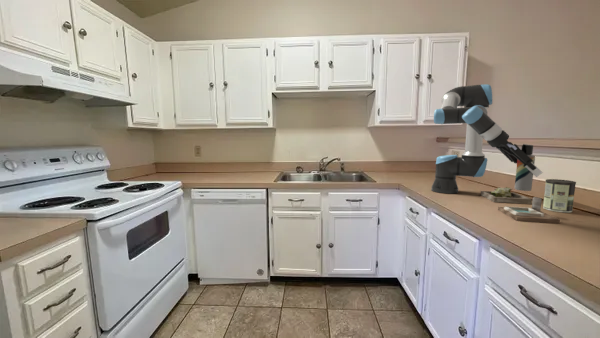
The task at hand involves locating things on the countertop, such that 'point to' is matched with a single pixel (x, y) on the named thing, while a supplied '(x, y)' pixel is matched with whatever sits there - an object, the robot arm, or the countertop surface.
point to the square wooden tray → (515, 199)
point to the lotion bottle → (524, 171)
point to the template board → (529, 213)
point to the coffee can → (559, 195)
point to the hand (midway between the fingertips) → (534, 173)
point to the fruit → (502, 192)
